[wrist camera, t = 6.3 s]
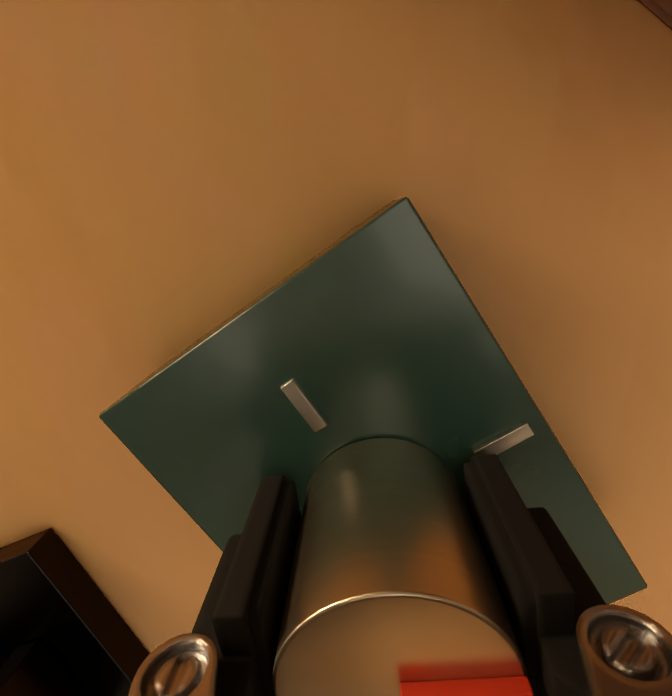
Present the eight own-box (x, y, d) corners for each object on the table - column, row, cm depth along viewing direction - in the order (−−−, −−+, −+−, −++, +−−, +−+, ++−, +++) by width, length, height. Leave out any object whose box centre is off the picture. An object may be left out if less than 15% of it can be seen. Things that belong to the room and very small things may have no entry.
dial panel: (151, 373, 14) (92, 419, 11) (394, 199, 12) (407, 194, 9) (365, 621, 16) (366, 715, 13) (591, 512, 14) (653, 593, 11)
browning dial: (317, 573, 12) (291, 804, 7) (292, 445, 11) (243, 622, 6) (466, 563, 11) (538, 797, 7) (457, 428, 10) (537, 602, 6)
